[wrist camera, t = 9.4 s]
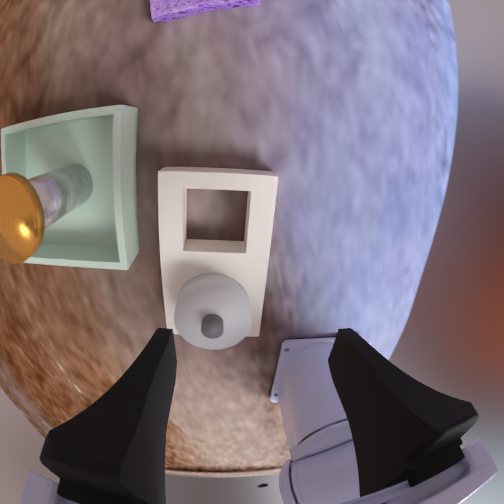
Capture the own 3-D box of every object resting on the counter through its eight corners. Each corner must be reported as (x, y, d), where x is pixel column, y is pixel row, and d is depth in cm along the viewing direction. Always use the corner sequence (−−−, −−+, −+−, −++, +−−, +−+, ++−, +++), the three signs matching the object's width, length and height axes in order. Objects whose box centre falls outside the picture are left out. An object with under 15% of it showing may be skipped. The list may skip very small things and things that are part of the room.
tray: (139, 250, 19) (127, 270, 16) (36, 246, 18) (17, 262, 15) (138, 107, 15) (122, 104, 12) (25, 125, 14) (1, 128, 11)
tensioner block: (256, 320, 23) (263, 363, 18) (171, 317, 22) (162, 359, 17) (272, 171, 18) (288, 185, 13) (165, 166, 17) (144, 180, 12)
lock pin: (103, 214, 17) (43, 266, 10) (55, 215, 17) (-10, 261, 10) (100, 151, 15) (29, 170, 8) (50, 156, 15) (-25, 180, 8)
